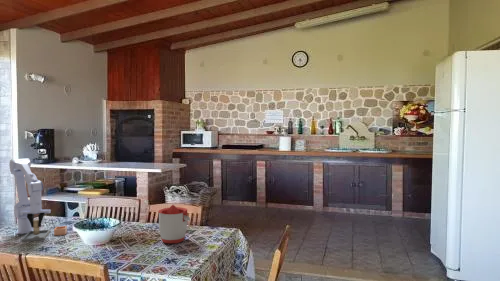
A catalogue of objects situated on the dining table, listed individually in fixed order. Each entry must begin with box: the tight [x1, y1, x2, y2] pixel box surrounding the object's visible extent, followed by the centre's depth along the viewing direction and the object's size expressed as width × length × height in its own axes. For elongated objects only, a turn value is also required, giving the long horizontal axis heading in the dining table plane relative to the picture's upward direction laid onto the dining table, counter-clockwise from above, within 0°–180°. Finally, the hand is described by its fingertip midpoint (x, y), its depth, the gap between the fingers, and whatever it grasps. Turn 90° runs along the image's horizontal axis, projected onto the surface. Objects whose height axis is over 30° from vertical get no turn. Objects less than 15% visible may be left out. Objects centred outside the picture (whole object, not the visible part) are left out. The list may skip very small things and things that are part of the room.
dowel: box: [33, 219, 40, 235], centre depth 205 cm, size 3×3×8 cm
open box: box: [53, 225, 68, 236], centre depth 210 cm, size 6×6×4 cm
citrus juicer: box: [157, 204, 191, 244], centre depth 199 cm, size 16×17×20 cm
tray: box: [20, 229, 51, 243], centre depth 205 cm, size 16×11×2 cm
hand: (36, 226), depth 205 cm, fingers closed on dowel, 3 cm apart
